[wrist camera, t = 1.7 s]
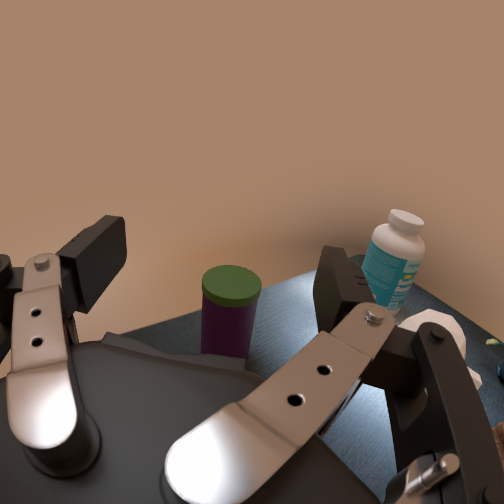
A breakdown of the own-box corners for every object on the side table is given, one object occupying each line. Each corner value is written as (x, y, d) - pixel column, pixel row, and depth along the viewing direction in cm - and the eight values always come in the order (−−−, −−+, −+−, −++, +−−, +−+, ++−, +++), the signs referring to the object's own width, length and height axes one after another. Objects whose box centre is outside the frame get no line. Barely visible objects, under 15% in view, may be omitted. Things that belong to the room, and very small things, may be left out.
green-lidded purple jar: (209, 376, 27) (214, 303, 23) (193, 340, 31) (194, 268, 27) (257, 364, 29) (272, 293, 25) (237, 331, 33) (246, 261, 29)
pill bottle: (389, 328, 36) (429, 235, 30) (342, 303, 40) (372, 210, 33) (403, 303, 41) (437, 221, 35) (362, 283, 45) (389, 201, 39)
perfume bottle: (360, 379, 26) (449, 437, 21) (415, 301, 23) (510, 366, 18) (376, 350, 33) (448, 398, 28) (417, 286, 31) (493, 338, 25)
